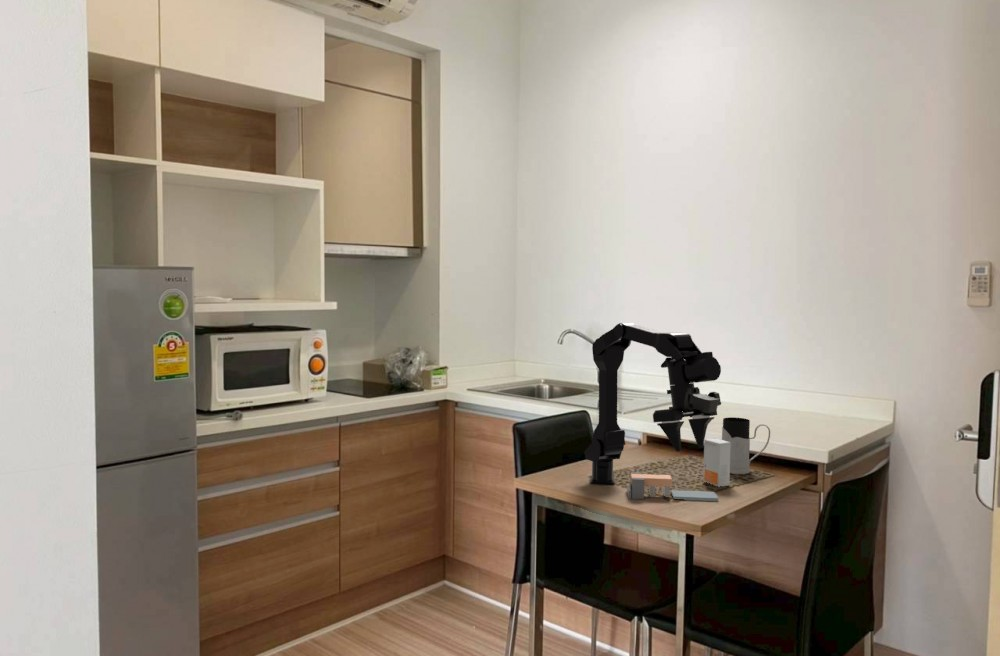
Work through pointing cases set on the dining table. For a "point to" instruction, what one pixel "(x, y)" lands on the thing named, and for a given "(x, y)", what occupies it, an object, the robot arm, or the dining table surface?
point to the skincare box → (716, 462)
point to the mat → (694, 495)
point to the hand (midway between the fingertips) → (689, 449)
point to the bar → (654, 479)
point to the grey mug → (739, 443)
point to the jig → (642, 488)
